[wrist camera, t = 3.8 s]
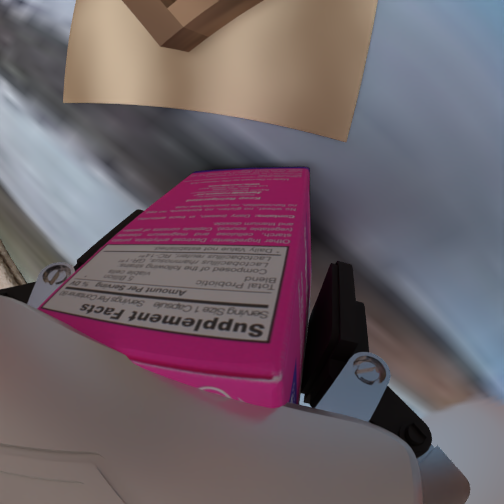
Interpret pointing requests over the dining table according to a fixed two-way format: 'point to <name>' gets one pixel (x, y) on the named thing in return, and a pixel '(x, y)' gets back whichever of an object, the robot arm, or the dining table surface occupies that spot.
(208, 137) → the dining table surface
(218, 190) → the supplement box
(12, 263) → the washcloth
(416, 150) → the dining table surface
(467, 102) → the dining table surface
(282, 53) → the collar holder
